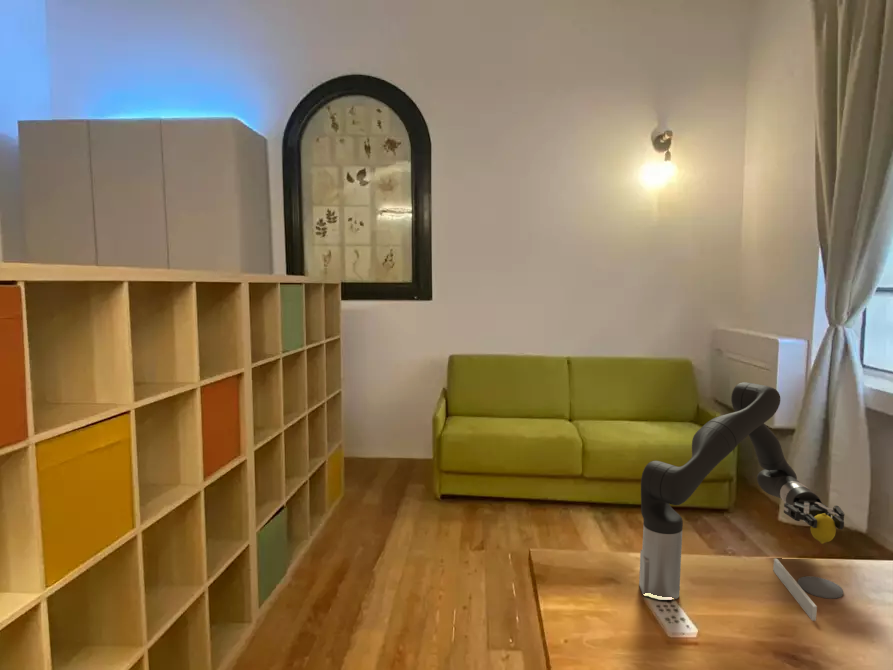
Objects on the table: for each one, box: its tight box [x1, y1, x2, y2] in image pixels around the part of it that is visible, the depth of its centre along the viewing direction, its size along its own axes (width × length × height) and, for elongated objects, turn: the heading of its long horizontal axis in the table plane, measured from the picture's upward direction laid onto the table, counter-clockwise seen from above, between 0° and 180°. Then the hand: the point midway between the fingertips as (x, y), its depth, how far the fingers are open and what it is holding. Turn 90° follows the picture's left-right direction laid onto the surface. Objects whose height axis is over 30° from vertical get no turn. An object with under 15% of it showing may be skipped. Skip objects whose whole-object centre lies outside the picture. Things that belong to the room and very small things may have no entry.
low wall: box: [772, 558, 818, 622], centre depth 156 cm, size 1×24×4 cm, turn 172°
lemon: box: [809, 513, 837, 545], centre depth 158 cm, size 6×6×8 cm
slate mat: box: [797, 575, 844, 600], centre depth 159 cm, size 10×10×1 cm
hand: (828, 525), depth 155 cm, fingers closed on lemon, 5 cm apart
